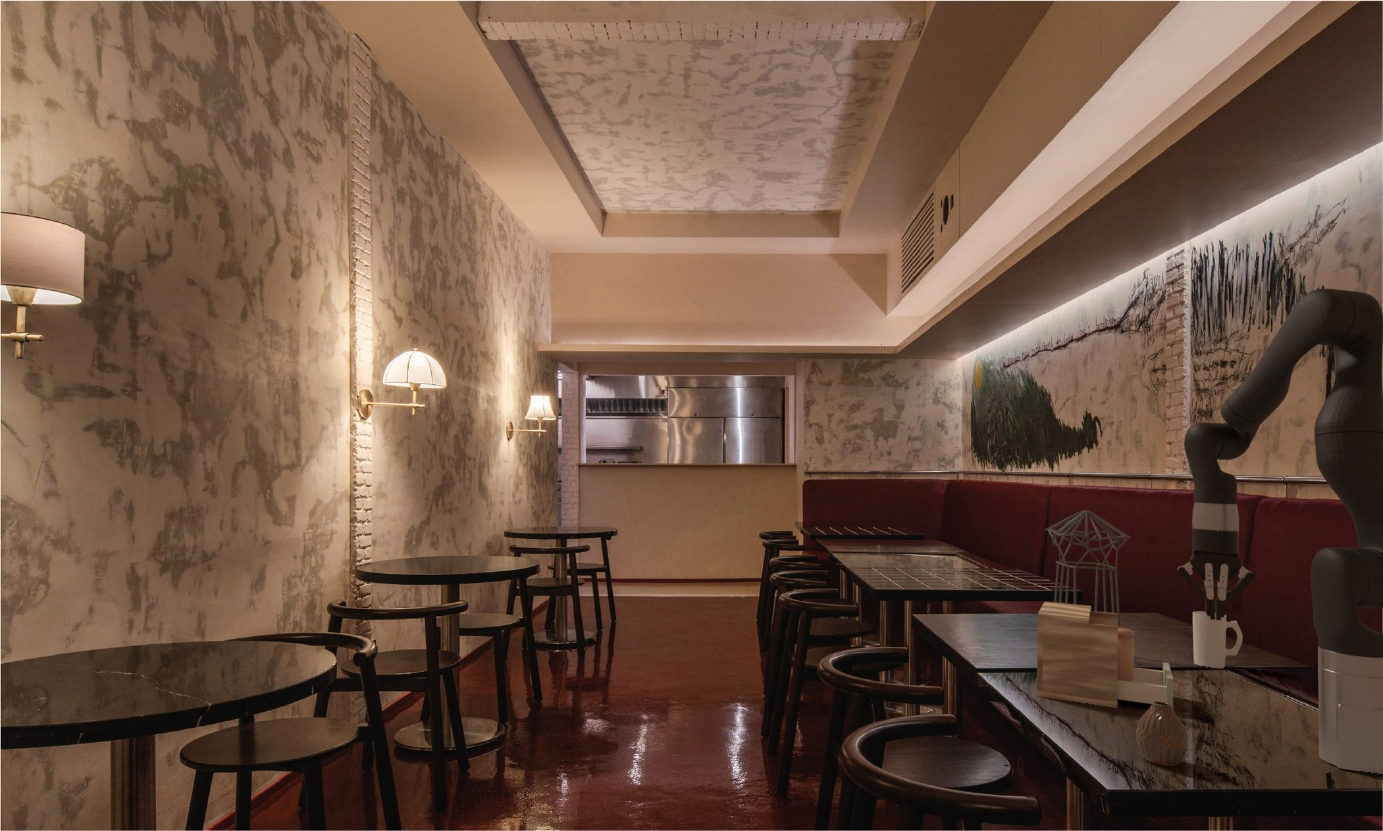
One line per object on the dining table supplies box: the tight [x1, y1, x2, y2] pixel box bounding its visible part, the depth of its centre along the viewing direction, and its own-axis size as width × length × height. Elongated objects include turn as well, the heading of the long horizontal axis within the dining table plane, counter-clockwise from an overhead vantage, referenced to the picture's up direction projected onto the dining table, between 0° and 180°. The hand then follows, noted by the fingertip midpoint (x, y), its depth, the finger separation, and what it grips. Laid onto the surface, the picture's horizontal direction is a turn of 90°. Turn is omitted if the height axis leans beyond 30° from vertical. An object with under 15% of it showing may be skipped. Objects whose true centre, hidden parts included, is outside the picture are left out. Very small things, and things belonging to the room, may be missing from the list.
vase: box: [1135, 701, 1189, 767], centre depth 129 cm, size 7×7×9 cm
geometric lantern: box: [1043, 509, 1131, 628], centre depth 205 cm, size 16×16×35 cm
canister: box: [1118, 627, 1136, 682], centre depth 166 cm, size 6×6×11 cm
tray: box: [1117, 662, 1174, 710], centre depth 165 cm, size 15×13×6 cm
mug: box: [1192, 610, 1243, 669], centre depth 198 cm, size 10×7×12 cm, turn 68°
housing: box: [1036, 601, 1118, 709], centre depth 169 cm, size 18×14×16 cm
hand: (1215, 619), depth 159 cm, fingers closed
